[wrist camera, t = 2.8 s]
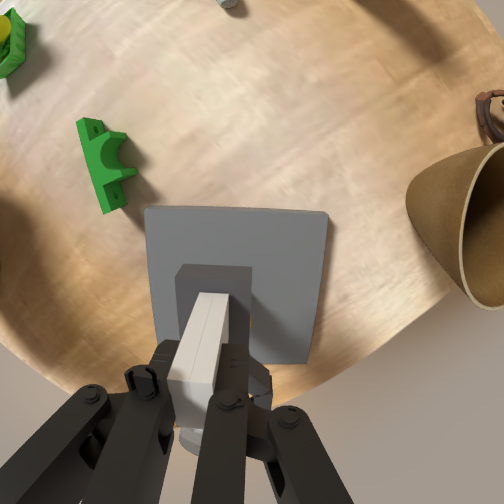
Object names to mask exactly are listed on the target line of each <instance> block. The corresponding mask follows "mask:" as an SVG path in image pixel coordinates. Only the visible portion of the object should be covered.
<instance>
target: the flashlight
mask: <svg viewBox="0 0 504 504" xmlns="http://www.w3.org/2000/svg"><path fill="white" fill-rule="evenodd" d="M216 1H217V2H218V4H219V5H220V6H221V7H222V8H231V7H233V6H235V5H236V4H237V1H239V0H216Z"/></svg>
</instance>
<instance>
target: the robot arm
mask: <svg viewBox="0 0 504 504" xmlns="http://www.w3.org/2000/svg"><path fill="white" fill-rule="evenodd" d="M228 338H229V294H220V293H202V292H199V295H198V298H197V300H196V303H195V305H194V308H193V310H192V313H191V315H190V318H189V321H188V323H187V326H186V329H185V331H184V334H183V336H182V339H181V341H179V340H169V339H165V340H164V341H162V342H161V343H160V344H159V345H158V346H157V348H156V350H155V352H154V354H153V357H152V359H151V361H150V363H149V365H137V366H133V367H131V368H130V369H128V370H127V371H126V372H125V373H124V375H125V379H126V382H127V385H128V388H129V392H126V393H115V394H108V393H107V391H106V389H105V388H103V387H102V386H100V385H96V384H89V385H86V386H83V387H82V388H80V389H79V390H78V391H77V392H76V393H75V394H73V395H72V396H71V397H70V398H69V399H68V400H67V401H66V402H65V403H64V404H63V405H62V406H61V407H60V408H59V409H58V410H57V411H56V412H55V413H54V414H53V415H52V416H51V417H50V418H49V419H48V420H47V421H46V422H45V423H44V424H43V425H42V426H41V427H40V429H38V430H37V431H36V432H35V433H34V434H33V435H32V436H31V437H30V438H29V439H28V440H27V441H26V442H25V444H23V445H22V446H21V447H20V448H19V449H18V451H17V452H16V453H15V454H14V455H13V456H12V457H11V458H10V459H9V460H8V461H7V462H6V463H5V464H4V465H3V466H2V467H1V468H0V504H79V503H80V501H81V500H82V502H81V504H158V503H159V499H160V495H161V490H162V486H163V481H164V477H165V473H166V469H167V465H168V460H169V456H170V452H171V448H172V444H173V440H174V430H173V426H174V422H175V420H176V424H177V426H178V427H186V428H194V429H203V435H202V440H201V446H200V452H199V458H198V463H197V469H196V475H195V481H194V487H193V493H192V499H191V504H244V490H245V466H246V456H248V457H251V458H254V459H258V460H261V461H263V463H264V465H265V469H266V471H267V474H268V477H269V480H270V483H271V486H272V489H273V492H274V495H275V497H276V500H277V503H278V504H354V503H353V501H352V499H351V497H350V495H349V494H348V492H347V490H346V488H345V486H344V484H343V482H342V480H341V479H340V477H339V475H338V473H337V471H336V469H335V467H334V465H333V463H332V462H331V460H330V458H329V456H328V454H327V452H326V450H325V448H324V446H323V444H322V442H321V440H320V438H319V436H318V434H317V432H316V430H315V429H314V427H313V425H312V423H311V421H310V419H309V417H308V415H307V414H306V413H305V412H304V411H303V410H302V409H300V408H298V407H295V406H281V407H278V408H276V409H274V410H273V411H271V410H267V409H264V408H261V407H258V406H257V405H255V404H254V403H253V402H252V401H251V400H250V398H249V394H248V384H249V354H250V352H249V350H248V349H247V347H246V345H245V344H228Z"/></svg>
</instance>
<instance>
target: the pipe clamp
mask: <svg viewBox="0 0 504 504" xmlns="http://www.w3.org/2000/svg"><path fill="white" fill-rule="evenodd" d="M76 125H77V129H78V133H79V137H80V141H81V145H82V148H83V152H84V156H85V159H86V163H87V166H88V169H89V173H90V176H91V179H92V182H93V185H94V189H95V192H96V195H97V198H98V201H99V203H100V206H101V209H102V212H103V215H104V214H106V213H109V212H111V211H113V210H116V209H118V208H120V207H122V206H125V205H127V202H126V199H125V196H124V193H123V190H122V187H121V184H120V181H121V180H124V179H126V178H128V177H131V176H133V175H135V174H138V173H137V169H136V168H125V167H124V166H122V165H121V163H120V162H119V160H118V149H119V146H120V145H121V143H122V142H123V141H124V140H126V139H127V137H126V133H121V132H113V131H108V132H106V133H105V131H104V127H103V124H102V120H96V119H90V118H84V117H83V118H82V119H80V120H78V121H77V122H76Z"/></svg>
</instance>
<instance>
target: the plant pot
mask: <svg viewBox="0 0 504 504" xmlns="http://www.w3.org/2000/svg"><path fill="white" fill-rule="evenodd" d="M406 208H407V212H408V215H409V217H410V219H411V221H412V223H413V225H414V227H415V229H416V230H417V232H418V234H419V235H420V237H421V238H422V240H423V242H424V243H425V244H426V246H427V247H428V249H429V250H430V252H431V253H432V254H433V256H434V257H435V258H436V260H437V261H438V262H439V263H440V265H441V266H442V267H443V268H444V270H445V271H446V272H447V273H448V274H449V276H450V277H451V278H452V279H453V280H454V281H455V283H456V284H457V285H458V286H459V287H460V288H461V289H462V291H463V292H464V293H465V294H466V295H467V296H468V297H469V298H470V300H471V301H472V302H473V303H474V304H475V305H477V306H478V307H479V308H481V309H484V310H488V311H497V310H500V309H503V308H504V142H502V143H496V144H491V145H486V146H482V147H478V148H474V149H470V150H467V151H463V152H461V153H458V154H455V155H452V156H450V157H448V158H445V159H443V160H441V161H439V162H437V163H435V164H433V165H432V166H430V167H428V168H427V169H425V170H424V171H422V172H421V173H420V174H418V175H417V176H416V177H415V178H414V179H413V180H412V181H411V183H410V185H409V187H408V190H407V193H406Z"/></svg>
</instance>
